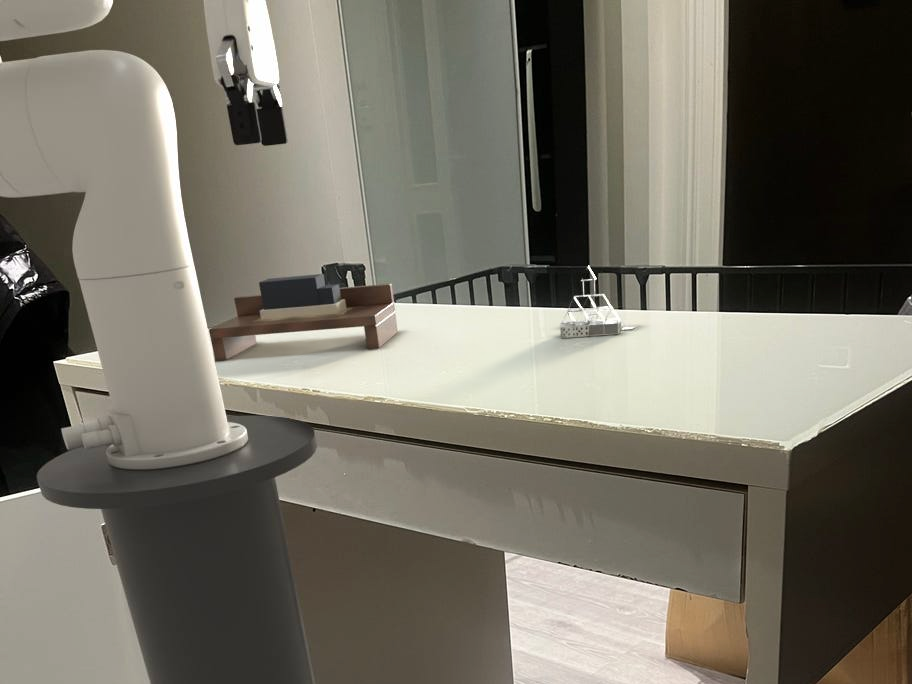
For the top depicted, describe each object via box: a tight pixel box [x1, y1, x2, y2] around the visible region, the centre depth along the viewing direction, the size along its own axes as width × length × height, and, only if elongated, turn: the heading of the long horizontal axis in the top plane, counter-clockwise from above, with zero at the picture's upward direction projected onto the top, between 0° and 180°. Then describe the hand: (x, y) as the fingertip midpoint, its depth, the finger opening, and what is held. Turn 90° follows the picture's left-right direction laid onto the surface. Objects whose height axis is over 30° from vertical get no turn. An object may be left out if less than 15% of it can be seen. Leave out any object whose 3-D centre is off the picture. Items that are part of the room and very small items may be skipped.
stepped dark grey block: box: [258, 273, 346, 320], centre depth 125 cm, size 10×5×5 cm, turn 83°
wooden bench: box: [208, 283, 399, 362], centre depth 126 cm, size 22×12×6 cm, turn 83°
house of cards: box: [559, 265, 635, 339], centre depth 116 cm, size 9×9×8 cm
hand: (262, 144), depth 113 cm, fingers open, 9 cm apart
